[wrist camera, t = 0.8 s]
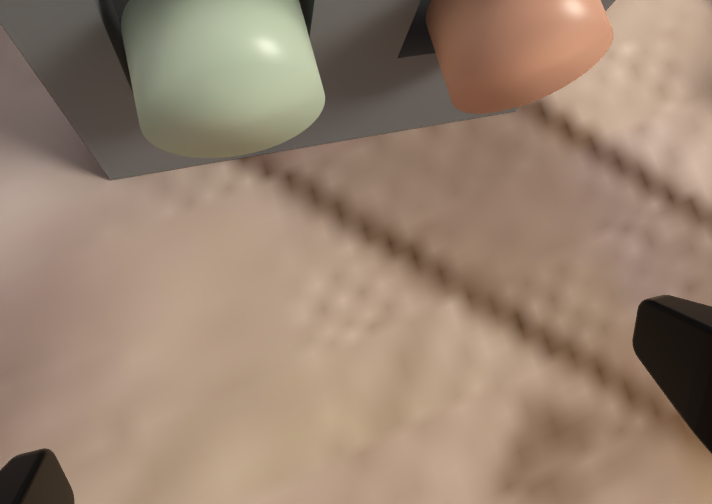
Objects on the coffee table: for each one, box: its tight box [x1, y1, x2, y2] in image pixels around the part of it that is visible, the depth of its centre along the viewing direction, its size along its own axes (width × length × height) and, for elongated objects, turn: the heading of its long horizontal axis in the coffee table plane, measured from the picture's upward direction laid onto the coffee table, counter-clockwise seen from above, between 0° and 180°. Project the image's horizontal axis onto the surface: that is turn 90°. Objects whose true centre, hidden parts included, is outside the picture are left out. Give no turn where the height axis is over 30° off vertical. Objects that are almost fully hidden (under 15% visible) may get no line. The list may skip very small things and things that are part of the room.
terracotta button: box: [426, 0, 613, 114], centre depth 15 cm, size 2×4×4 cm, turn 105°
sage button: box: [121, 0, 325, 158], centre depth 13 cm, size 2×4×4 cm, turn 105°
